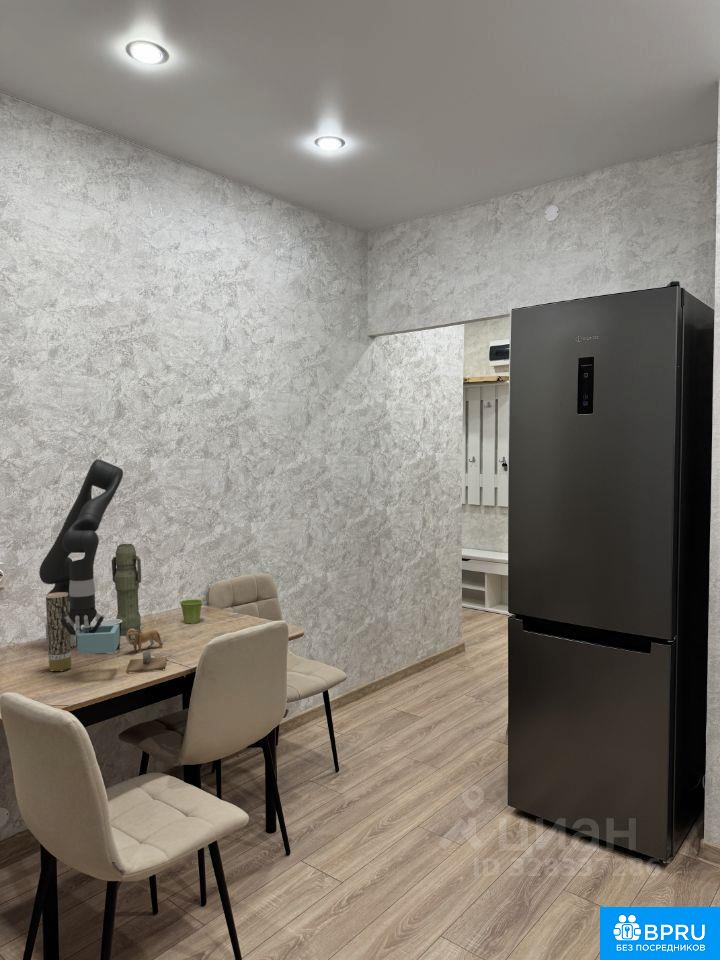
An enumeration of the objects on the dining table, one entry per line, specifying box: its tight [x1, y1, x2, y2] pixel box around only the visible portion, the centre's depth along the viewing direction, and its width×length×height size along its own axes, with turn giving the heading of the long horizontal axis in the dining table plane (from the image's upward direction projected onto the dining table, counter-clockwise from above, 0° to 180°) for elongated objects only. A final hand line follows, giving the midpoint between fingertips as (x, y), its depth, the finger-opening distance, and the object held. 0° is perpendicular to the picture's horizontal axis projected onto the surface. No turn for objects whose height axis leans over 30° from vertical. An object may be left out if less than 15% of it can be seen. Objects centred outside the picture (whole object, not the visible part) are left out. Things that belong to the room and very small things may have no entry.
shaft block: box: [125, 651, 168, 674], centre depth 233 cm, size 12×12×4 cm
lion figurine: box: [125, 629, 164, 654], centre depth 252 cm, size 15×5×9 cm, turn 142°
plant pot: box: [179, 598, 204, 624], centre depth 291 cm, size 9×9×9 cm
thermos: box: [111, 543, 142, 637], centre depth 276 cm, size 9×12×35 cm
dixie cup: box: [100, 618, 122, 655], centre depth 251 cm, size 8×8×11 cm
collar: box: [76, 624, 121, 655], centre depth 225 cm, size 11×11×6 cm
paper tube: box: [45, 592, 72, 672], centre depth 232 cm, size 7×7×25 cm
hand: (83, 646), depth 224 cm, fingers closed on collar, 1 cm apart
